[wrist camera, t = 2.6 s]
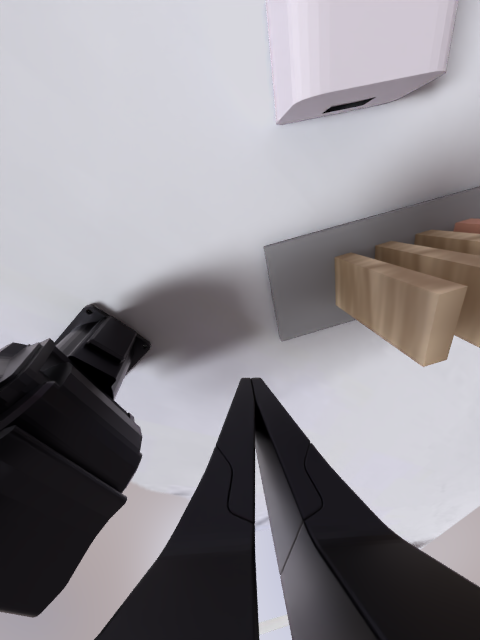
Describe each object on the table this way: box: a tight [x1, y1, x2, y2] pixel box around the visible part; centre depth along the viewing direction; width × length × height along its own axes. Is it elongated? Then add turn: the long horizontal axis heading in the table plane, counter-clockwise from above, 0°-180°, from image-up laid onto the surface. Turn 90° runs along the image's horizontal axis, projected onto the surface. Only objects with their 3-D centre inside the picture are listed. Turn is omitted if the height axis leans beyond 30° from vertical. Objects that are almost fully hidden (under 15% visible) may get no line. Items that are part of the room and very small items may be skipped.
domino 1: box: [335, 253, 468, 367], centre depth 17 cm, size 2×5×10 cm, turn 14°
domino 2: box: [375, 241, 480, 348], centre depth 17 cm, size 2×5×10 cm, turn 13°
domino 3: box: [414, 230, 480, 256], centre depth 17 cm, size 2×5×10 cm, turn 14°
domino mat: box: [264, 187, 480, 341], centre depth 22 cm, size 26×10×1 cm, turn 103°
